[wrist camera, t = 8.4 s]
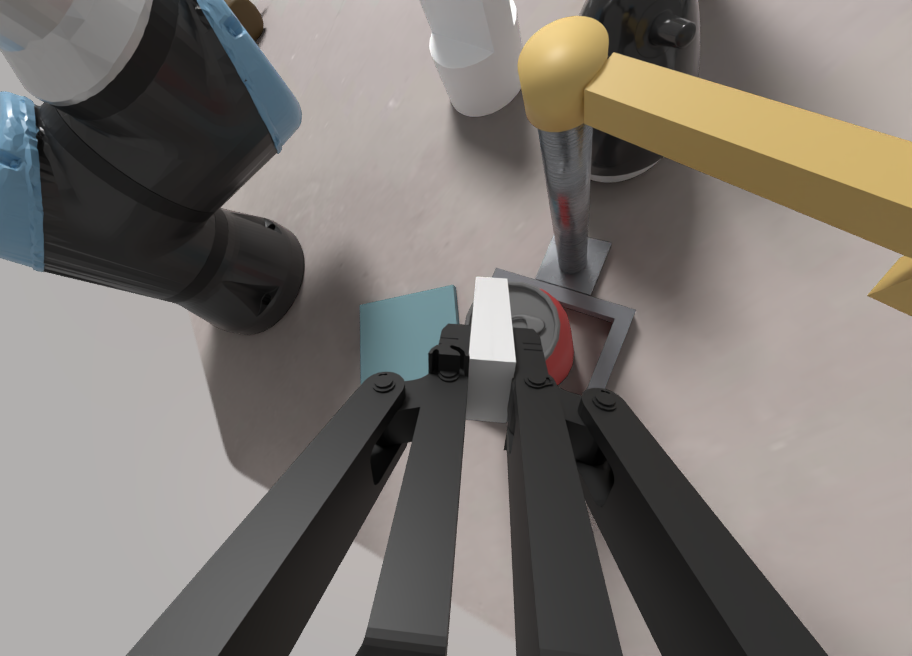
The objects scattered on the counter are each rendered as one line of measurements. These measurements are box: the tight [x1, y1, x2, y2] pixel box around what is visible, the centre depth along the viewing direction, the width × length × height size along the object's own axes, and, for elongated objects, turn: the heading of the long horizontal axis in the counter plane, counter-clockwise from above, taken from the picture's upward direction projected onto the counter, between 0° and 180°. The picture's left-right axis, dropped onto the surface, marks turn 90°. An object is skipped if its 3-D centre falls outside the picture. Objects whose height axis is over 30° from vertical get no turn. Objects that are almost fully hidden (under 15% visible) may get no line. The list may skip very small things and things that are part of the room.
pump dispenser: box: [579, 0, 700, 183], centre depth 25 cm, size 10×10×15 cm
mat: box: [360, 285, 459, 384], centre depth 34 cm, size 11×11×1 cm
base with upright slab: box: [420, 0, 523, 117], centre depth 33 cm, size 9×9×12 cm
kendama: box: [224, 0, 263, 41], centre depth 57 cm, size 6×10×20 cm
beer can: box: [465, 281, 574, 385], centre depth 25 cm, size 7×7×12 cm
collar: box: [492, 268, 636, 421], centre depth 30 cm, size 12×12×2 cm
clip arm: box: [518, 16, 912, 316], centre depth 12 cm, size 16×3×4 cm, turn 48°
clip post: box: [535, 123, 611, 296], centre depth 23 cm, size 5×5×18 cm
